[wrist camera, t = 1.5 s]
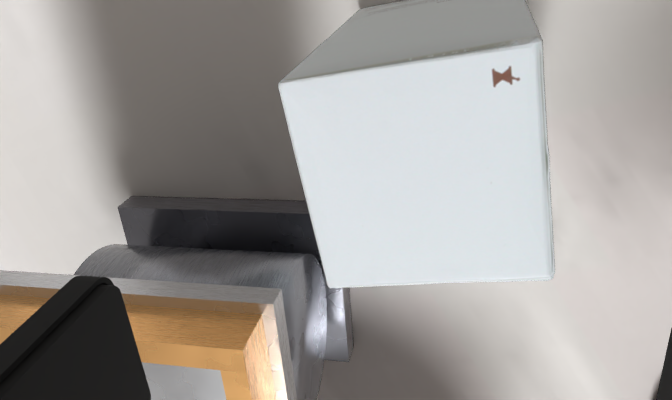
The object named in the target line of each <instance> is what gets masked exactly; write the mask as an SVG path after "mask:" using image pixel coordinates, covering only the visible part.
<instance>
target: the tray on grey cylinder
mask: <svg viewBox="0 0 672 400" xmlns="http://www.w3.org/2000/svg"><path fill="white" fill-rule="evenodd" d="M118 210H119V214H120V218H121V221H122V225H123V229H124V232H125V236H126V240H127V244H128V245H121V244H114V245H108V246H105V247H102V248H101V249H99V250H97V251H95V252H94V253H93V254H91V255H90V256H89V257H88V258H87V259H86V260H85V261H84V262H83V263H82V264H81V266H80V267H79V268H78V269H77V271H76V272H75V274H74V275H64V274H48V273H33V272H18V271H2V270H0V344H1V343H2V342H3V341H4V340H5V339H7V338H8V337H9V336H10V335H11V334H12V333H13V332H14V331H15V330H16V329H17V328H19V327H20V326H21V325H22V324H23V323H24V322H25V321H26V320H27V319H28V318H29V317H31V316H32V315H33V314H34V313H35V312H36V311H37V310H38V309H39V308H40V307H41V306H43V305H44V304H45V303H46V302H47V301H48V300H49V299H50V298H51V297H52V296H53V295H55V294H56V293H57V292H58V291H59V290H60V289H61V288H62V287H63V286H64V285H65V284H66V283H68V282H69V281H70V280H71V279H72V278H74V277H75V276H96V277H106V278H109V279H110V280H111V281H112V282H113V284H114V286H117V287H118V288H119V289H120V291H121V294H122V297H123V301H124V304H125V307H126V311H127V314H128V318H129V321H130V324H131V328H132V331H133V335H134V338H135V341H136V345H137V348H138V352H139V355H140V358H141V362H142V365H143V369H144V372H145V375H146V379H147V382H148V386H149V389H150V393H151V400H317V396H318V392H319V387H320V383H321V377H322V371H323V365H324V360H332V361H343V362H349V360H350V357H351V353H352V350H353V346H354V343H353V331H352V318H351V306H350V294H349V287H346V288H329V287H328V285H327V281H326V277H325V273H324V269H323V265H322V261H321V257H320V253H319V249H318V245H317V242H316V238H315V234H314V230H313V226H312V222H311V218H310V214H309V210H308V206H307V202H306V201H284V200H249V199H214V198H178V197H143V196H131V197H130V198H129V199H127V200H126V201H125V202H124V203H122V204H121V205H120V206H119V207H118Z"/></svg>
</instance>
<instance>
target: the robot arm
mask: <svg viewBox="0 0 672 400" xmlns="http://www.w3.org/2000/svg"><path fill="white" fill-rule="evenodd" d="M0 400H151V393H150V389H149V386H148V382H147V379H146V375H145V372H144V369H143V365H142V362H141V358H140V355H139V352H138V348H137V345H136V341H135V338H134V335H133V331H132V328H131V324H130V321H129V318H128V314H127V311H126V307H125V304H124V301H123V297H122V294H121V291H120V289H119V288H118V287H117V286H114V284H113V282H112V281H111V280H110V279H109V278H106V277H96V276H75V277H74V278H72V279H71V280H70V281H69V282H68V283H66V284H65V285H64V286H63V287H62V288H61V289H60V290H59V291H58V292H57V293H56V294H55V295H53V296H52V297H51V298H50V299H49V300H48V301H47V302H46V303H45V304H44V305H43V306H41V307H40V308H39V309H38V310H37V311H36V312H35V313H34V314H33V315H32V316H31V317H29V318H28V319H27V320H26V321H25V322H24V323H23V324H22V325H21V326H20V327H19V328H17V329H16V330H15V331H14V332H13V333H12V334H11V335H10V336H9V337H8V338H7V339H5V340H4V341H3V342H2V343H1V344H0ZM656 400H672V329H671V333H670V338H669V342H668V347H667V352H666V356H665V361H664V366H663V370H662V375H661V379H660V384H659V389H658V393H657V398H656Z"/></svg>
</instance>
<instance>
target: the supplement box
mask: <svg viewBox="0 0 672 400" xmlns="http://www.w3.org/2000/svg"><path fill="white" fill-rule="evenodd" d="M278 87H279V92H280V96H281V100H282V104H283V109H284V113H285V117H286V121H287V125H288V130H289V134H290V138H291V142H292V146H293V150H294V154H295V158H296V162H297V166H298V170H299V174H300V178H301V182H302V186H303V190H304V194H305V198H306V202H307V206H308V210H309V214H310V218H311V222H312V226H313V230H314V234H315V238H316V242H317V245H318V249H319V253H320V257H321V261H322V265H323V269H324V273H325V277H326V281H327V285H328V287H329V288H346V287H370V286H390V285H415V284H436V283H459V282H508V281H548V280H551V279H552V278H553V277H554V274H555V259H554V242H553V225H552V207H551V187H550V157H549V149H548V138H547V120H546V101H545V82H544V61H543V40H542V38H541V35H540V33H539V30H538V28H537V26H536V24H535V22H534V19H533V17H532V15H531V12H530V10H529V8H528V5H527V3H526V1H525V0H405V1H399V2H394V3H388V4H383V5H377V6H372V7H367V8H362V9H360V10H358V11H357V12H356V13H355V14H354V15H353V16H352V17H351V18H349V20H347V21H346V22H345V23H344V24H343V25H342V26H341V27H340V28H339V29H338V30H336V31H335V32H334V33H333V34H332V35H331V36H330V37H329V38H328V39H326V40H325V41H324V42H323V43H322V44H320V45H319V46H318V47H317V48H316V49H315V50H314V51H313V52H312V53H311V54H310V55H309V56H307V57H306V58H305V59H304V60H303V61H302V62H301V63H300V64H299V65H297V66H296V67H295V68H294V69H293V70H292V71H291V72H290V73H289V74H287V75H286V76H285V77H284V78H283V79H282V80H281V81H280V82H279V83H278Z"/></svg>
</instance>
